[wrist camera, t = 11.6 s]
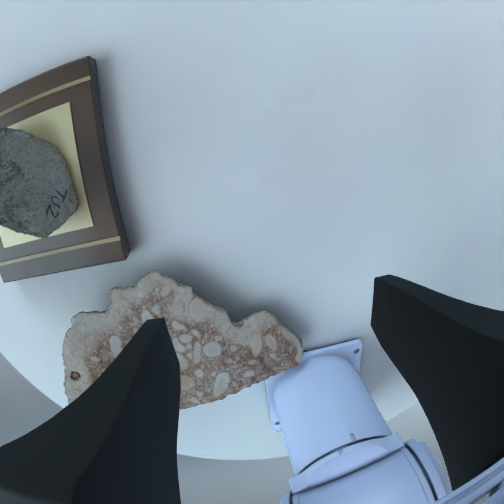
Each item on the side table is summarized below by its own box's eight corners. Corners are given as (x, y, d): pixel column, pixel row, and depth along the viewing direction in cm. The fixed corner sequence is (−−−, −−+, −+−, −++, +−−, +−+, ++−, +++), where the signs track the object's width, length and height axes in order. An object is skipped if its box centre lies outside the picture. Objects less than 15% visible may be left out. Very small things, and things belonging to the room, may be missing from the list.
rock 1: (80, 217, 18) (81, 255, 14) (-21, 229, 14) (-44, 269, 10) (80, 116, 15) (77, 124, 11) (-30, 130, 11) (-64, 145, 7)
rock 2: (85, 438, 18) (7, 330, 14) (89, 404, 21) (26, 302, 17) (313, 369, 21) (288, 237, 17) (292, 341, 24) (266, 221, 21)
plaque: (130, 252, 18) (126, 261, 17) (11, 275, 17) (2, 284, 16) (95, 59, 14) (88, 54, 12) (-27, 114, 13) (-38, 114, 12)
